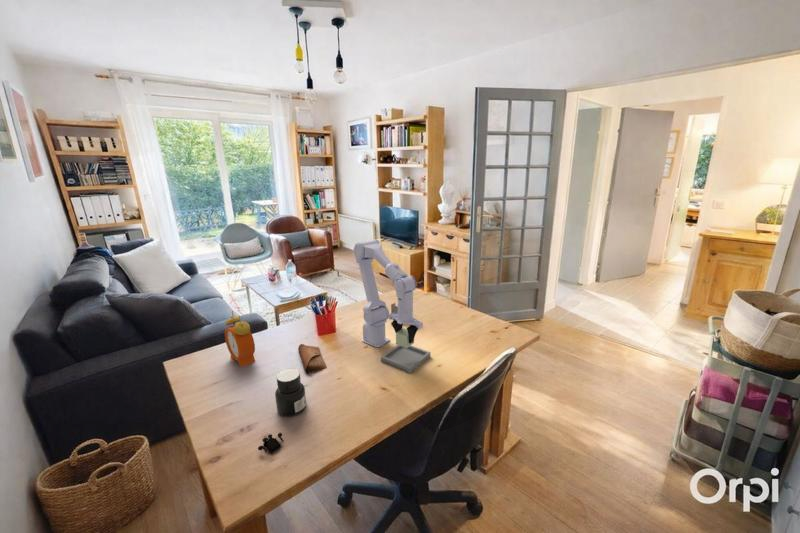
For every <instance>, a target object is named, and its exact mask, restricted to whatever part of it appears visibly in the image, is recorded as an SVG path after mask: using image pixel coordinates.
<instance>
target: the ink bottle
mask: <svg viewBox="0 0 800 533" xmlns="http://www.w3.org/2000/svg"><path fill="white" fill-rule="evenodd" d="M276 385H277V388H276V390H275V393H274V395H275V403H276V404H275V406H276V411H277V414H279V416H282V417H286V418H287V417H294V416H297V415H300V414H301V413H302V412H303V411H304V410H305V409H306V407H307V399H306V398H307V397H306V388H305V385H304V384H303V383H302V382H301V373H300V370H298V369H296V368H287V369H284V370H282V371H280V372H278V374H277V375H276Z"/></svg>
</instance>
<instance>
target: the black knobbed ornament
mask: <svg viewBox="0 0 800 533" xmlns="http://www.w3.org/2000/svg"><path fill="white" fill-rule="evenodd" d="M282 436H283V433H282V432H278V433H277V437H278V438H279V439H280V441H281V442H285V440H284V439H283V438H282ZM280 441H279V440H278V439H277V438H276V437H273V434H272V433H271V434H270V433H269V434H267V437H263V439H262V442H263V443H262V445H259V446H258V447H257V450H258V451H262V450H263V451H264V452H265V453H266V454H268V452H269V453H270V454H273V453H275V452H277V451H278V450H280V448H281V447H282V446H281V443H280Z"/></svg>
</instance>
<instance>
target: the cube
mask: <svg viewBox="0 0 800 533" xmlns="http://www.w3.org/2000/svg"><path fill="white" fill-rule="evenodd" d="M414 344H415V340H414V341H413V342H412V343H411V344H410V343H409V335H408V331H407V327H402V329H401V330H400V331H398V332H395V346H397V345H399V346H402V347H404V348H408V347H409V346H413V345H414Z"/></svg>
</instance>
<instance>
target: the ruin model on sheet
mask: <svg viewBox="0 0 800 533" xmlns="http://www.w3.org/2000/svg"><path fill="white" fill-rule="evenodd" d="M390 306H391V307H390V309H391V310H390V314H391V313H394V314H398V305H396V302H394V303H391V304H390ZM406 326H408V324H407V325H406Z"/></svg>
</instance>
